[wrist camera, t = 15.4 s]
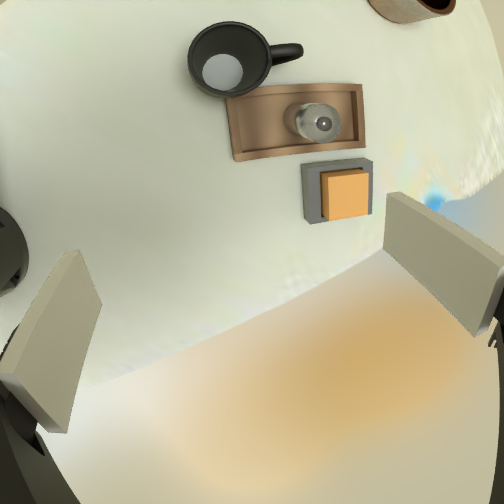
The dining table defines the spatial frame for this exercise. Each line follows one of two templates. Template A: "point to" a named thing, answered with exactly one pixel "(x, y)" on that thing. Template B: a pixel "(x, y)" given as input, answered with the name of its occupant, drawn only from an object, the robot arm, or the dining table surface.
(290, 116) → the cell
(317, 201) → the frame
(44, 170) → the dining table surface
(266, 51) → the mug
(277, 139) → the wooden tray
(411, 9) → the planter
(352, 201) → the orange square block
